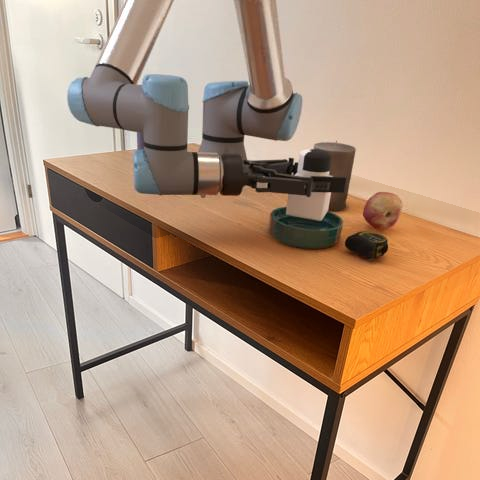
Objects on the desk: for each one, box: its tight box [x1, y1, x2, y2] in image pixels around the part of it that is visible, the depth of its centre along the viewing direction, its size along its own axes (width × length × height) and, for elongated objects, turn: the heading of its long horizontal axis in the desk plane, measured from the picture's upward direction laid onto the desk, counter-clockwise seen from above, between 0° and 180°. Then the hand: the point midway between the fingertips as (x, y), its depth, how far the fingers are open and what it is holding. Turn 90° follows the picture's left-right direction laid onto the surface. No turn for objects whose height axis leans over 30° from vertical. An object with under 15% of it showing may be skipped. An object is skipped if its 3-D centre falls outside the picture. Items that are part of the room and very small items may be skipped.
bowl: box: [268, 205, 344, 250], centre depth 99 cm, size 14×14×4 cm
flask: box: [136, 132, 144, 150], centre depth 141 cm, size 9×3×11 cm, turn 172°
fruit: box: [362, 191, 404, 231], centre depth 105 cm, size 8×8×8 cm
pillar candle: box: [313, 140, 357, 212], centre depth 115 cm, size 10×10×15 cm
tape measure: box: [344, 230, 389, 261], centre depth 92 cm, size 7×7×4 cm
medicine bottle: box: [286, 148, 333, 221], centre depth 94 cm, size 7×7×12 cm
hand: (334, 177), depth 94 cm, fingers closed on medicine bottle, 9 cm apart
